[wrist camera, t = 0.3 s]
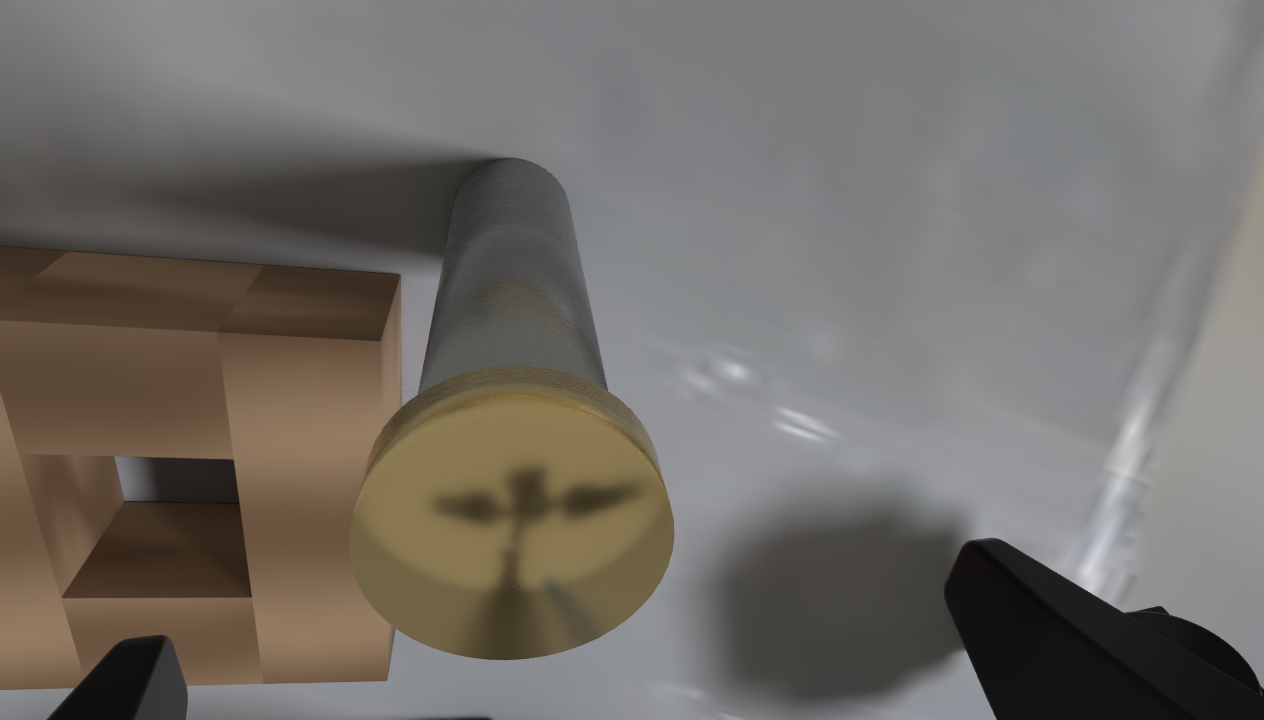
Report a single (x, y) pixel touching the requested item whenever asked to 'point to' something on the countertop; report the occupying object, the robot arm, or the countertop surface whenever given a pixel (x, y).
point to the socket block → (189, 428)
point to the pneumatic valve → (1199, 644)
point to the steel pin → (511, 450)
